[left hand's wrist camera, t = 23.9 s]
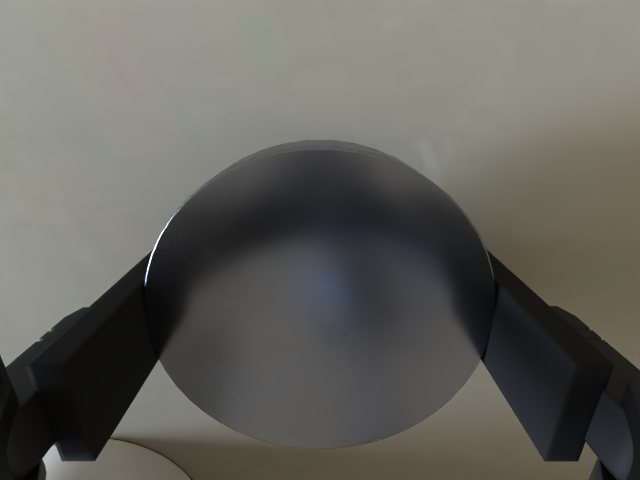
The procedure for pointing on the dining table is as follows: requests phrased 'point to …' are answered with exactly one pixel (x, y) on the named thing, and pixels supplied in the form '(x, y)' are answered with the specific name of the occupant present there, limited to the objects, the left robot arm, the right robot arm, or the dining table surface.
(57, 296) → the dining table surface
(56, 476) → the jar
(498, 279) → the left robot arm
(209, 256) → the lid
